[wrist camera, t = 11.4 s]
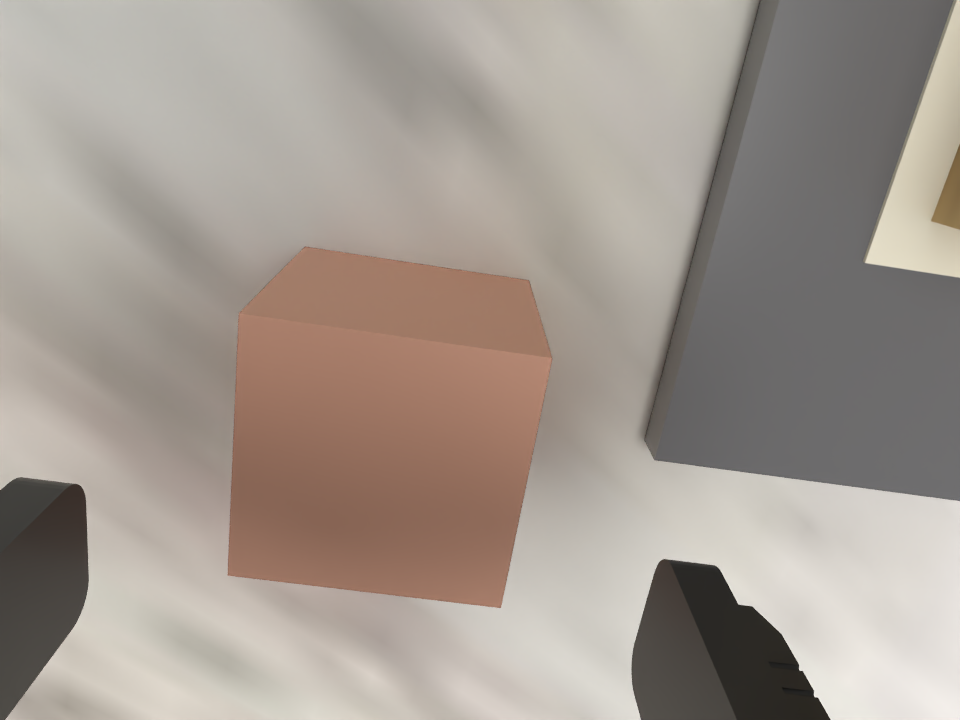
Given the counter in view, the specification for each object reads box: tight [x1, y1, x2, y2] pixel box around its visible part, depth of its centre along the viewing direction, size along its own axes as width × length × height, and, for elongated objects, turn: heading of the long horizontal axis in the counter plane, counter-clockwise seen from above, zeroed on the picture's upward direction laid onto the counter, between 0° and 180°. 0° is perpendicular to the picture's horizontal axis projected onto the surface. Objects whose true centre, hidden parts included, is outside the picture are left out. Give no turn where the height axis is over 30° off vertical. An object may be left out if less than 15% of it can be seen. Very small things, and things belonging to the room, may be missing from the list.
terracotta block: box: [228, 247, 552, 608], centre depth 15 cm, size 5×5×5 cm
